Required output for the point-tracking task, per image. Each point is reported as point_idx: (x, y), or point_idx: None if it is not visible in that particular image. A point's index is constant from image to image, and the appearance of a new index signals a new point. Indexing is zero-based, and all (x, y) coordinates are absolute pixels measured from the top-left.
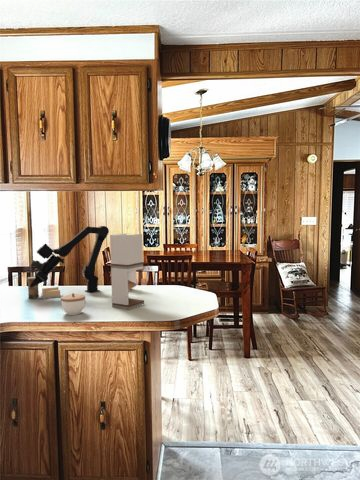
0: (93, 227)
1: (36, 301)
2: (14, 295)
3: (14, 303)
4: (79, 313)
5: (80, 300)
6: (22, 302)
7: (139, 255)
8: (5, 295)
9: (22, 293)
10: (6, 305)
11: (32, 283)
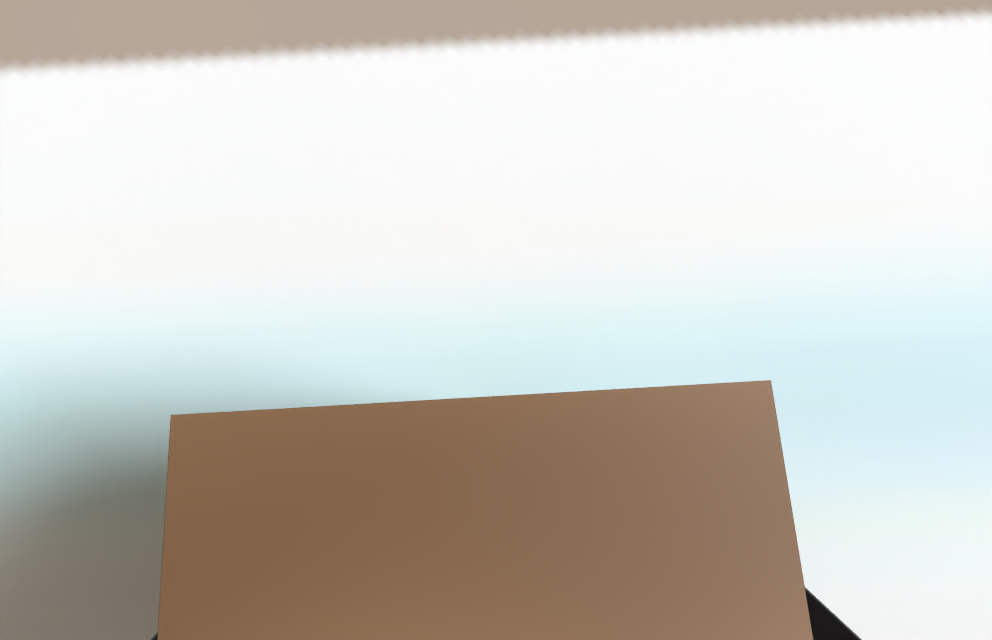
0: None
1: (41, 603)
2: (817, 170)
3: (109, 205)
4: None
5: None
6: (111, 334)
7: None
8: (867, 35)
9: (963, 297)
10: (26, 95)
11: None
